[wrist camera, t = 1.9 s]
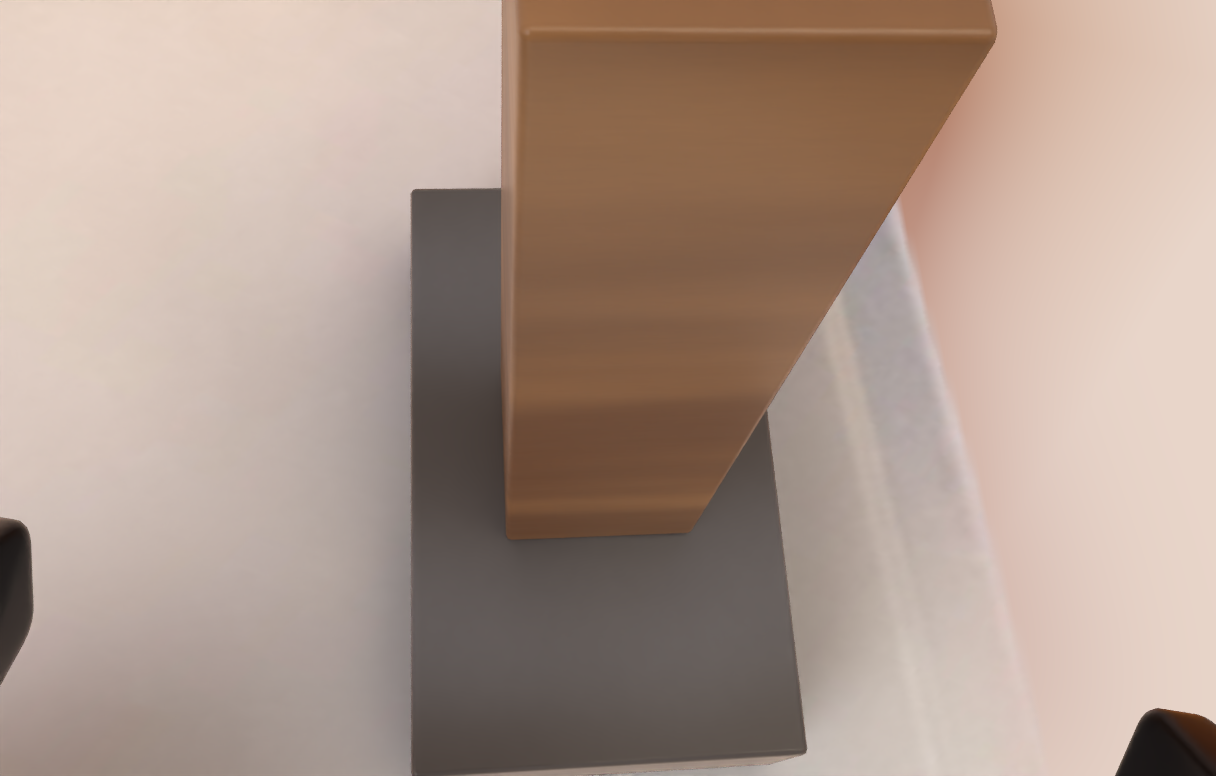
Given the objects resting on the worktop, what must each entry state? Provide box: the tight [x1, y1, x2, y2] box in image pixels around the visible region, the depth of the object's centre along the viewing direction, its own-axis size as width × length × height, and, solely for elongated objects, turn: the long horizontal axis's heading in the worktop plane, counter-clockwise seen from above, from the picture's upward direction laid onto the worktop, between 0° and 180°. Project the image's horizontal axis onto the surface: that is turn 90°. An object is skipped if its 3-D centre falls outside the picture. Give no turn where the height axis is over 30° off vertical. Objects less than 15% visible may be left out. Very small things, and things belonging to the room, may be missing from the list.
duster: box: [411, 0, 997, 776], centre depth 14 cm, size 10×6×15 cm, turn 4°
